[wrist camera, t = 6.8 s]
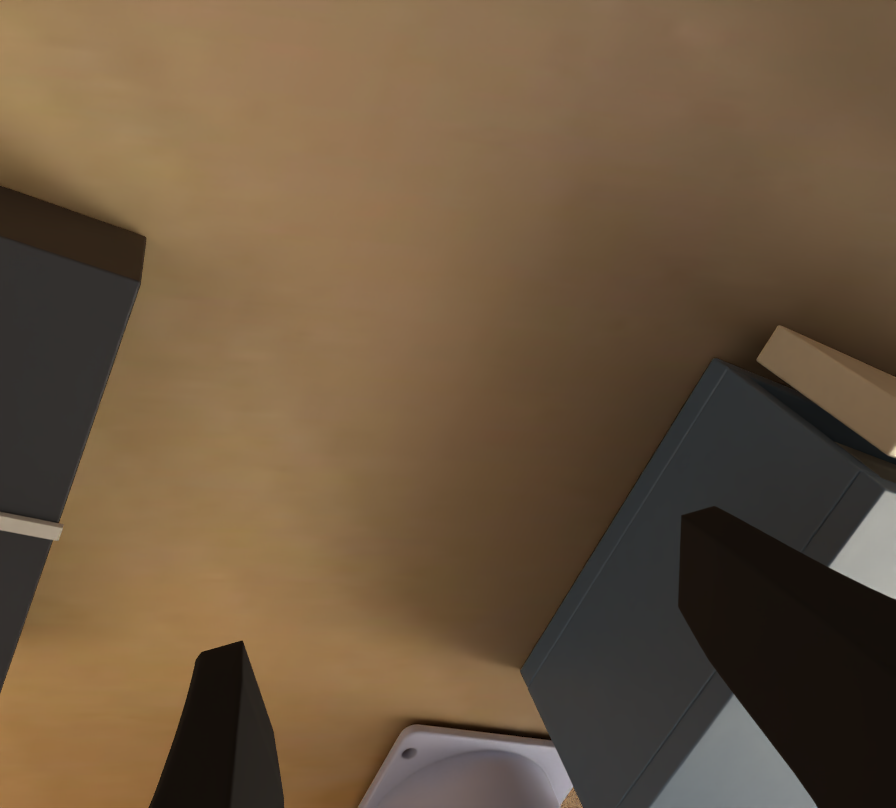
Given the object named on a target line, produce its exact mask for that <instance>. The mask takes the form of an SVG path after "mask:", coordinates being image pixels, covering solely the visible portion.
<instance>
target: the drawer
mask: <svg viewBox="0 0 896 808" xmlns="http://www.w3.org/2000/svg"><path fill="white" fill-rule="evenodd" d="M757 362H758V363H760V364H761V365H762V366H764V367H765V368H767V369H768V370H769V371H771V372H772V373H774V374H775V375H776V376H778V377H779V378H780V379H782V380H783V381H785V382H786V383H787V384H789V385H790V386H792V387H793V388H794V389H796V390H797V391H799V392H800V393H801V394H803V395H804V396H805V397H807V398H808V399H810V400H811V401H812V402H814V403H815V404H817V405H818V406H819V407H821V408H822V409H824V410H825V411H826V412H828V413H829V414H830V415H832V416H833V417H835V418H836V419H837V420H839V421H840V422H842V423H843V424H844V425H846V426H847V427H849V428H850V429H851V430H853V431H854V432H855V433H857V434H858V435H860V436H861V437H862V438H864V439H865V440H867V441H868V442H869V443H871V444H872V445H874V446H875V447H876V448H878V449H879V450H880V451H882V452H883V453H885V454H886V455H888V456H890V457H893V458H896V377H894V376H892V375H890V374H888V373H885V372H883V371H881V370H879V369H876V368H874V367H872V366H870V365H868V364H865V363H863V362H861V361H859V360H856V359H854V358H852V357H850V356H848V355H845V354H843V353H841V352H839V351H837V350H834V349H832V348H830V347H828V346H825V345H823V344H821V343H819V342H817V341H814V340H812V339H810V338H808V337H806V336H803V335H801V334H799V333H797V332H794V331H792V330H790V329H788V328H786V327H783V326H781V325H778V326H777V328H776V329H775V331H774V332H773V334H772V336H771V337H770V339H769V340H768V342H767V343H766V345H765V347H764V348H763V350H762V351H761V353H760V354H759V356H758V358H757ZM835 443H837V442H835ZM837 444H838V445H839V446H841V447H842V448H843V449H845V450H846V451H847V452H849V453H850V454H851V455H853V456H854V457H855V458H857V459H858V460H859V461H860V462H862V463H863V464H864V465H866V466H867V467H868V468H870V469H871V470H872V471H874V472H875V473H876V474H878V475H879V476H880V478H883V479H886V480H888V481H891V482H894V483H896V465H895V464H892V463H889V462H887V461H884V460H882V459H879V458H876V457H874V456H871V455H868V454H866V453H863V452H861V451H858V450H855V449H853V448H850V447H847V446H845V445H842V444H839V443H837Z"/></svg>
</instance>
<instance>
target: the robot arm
mask: <svg viewBox="0 0 896 808" xmlns="http://www.w3.org/2000/svg"><path fill="white" fill-rule="evenodd" d="M678 608H679V609H680V611H681V613H682V615H683V617H684V618H685V620H686V622H687V624H688V626H689V627H690V629H691V631H692V633H693V635H694V636H695V638H696V640H697V641H698V643H699V645H700V647H701V648H702V650H703V652H704V653H705V655H706V657H707V658H708V660H709V661H710V663H711V664H712V665H713V667H714V668H715V670H716V671H717V672H718V674H719V675H720V676H721V678H722V679H723V680H724V682H725V683H726V684H727V686H728V687H729V688H730V690H731V691H732V692H733V694H734V695H735V696H736V698H737V699H738V700H739V702H740V703H741V704H742V706H743V707H744V708H745V710H746V711H747V712H748V713H749V715H750V716H751V717H752V719H753V720H754V721H755V723H756V724H757V725H758V727H759V728H760V729H761V731H762V732H763V733H764V734H765V736H766V737H767V738H768V740H769V741H770V742H771V744H772V745H773V746H774V748H775V749H776V750H777V752H778V753H779V754H780V755H781V757H782V758H783V759H784V761H785V762H786V763H787V765H788V766H789V767H790V769H791V770H792V771H793V773H794V774H795V775H796V777H797V778H798V780H799V781H800V782H801V784H802V785H803V787H804V788H805V790H806V791H807V792H808V794H809V795H810V797H811V798H812V800H813V801H814V803H815V804H816V806H817V808H896V600H895V599H893V598H891V597H888V596H886V595H884V594H882V593H880V592H878V591H876V590H873V589H871V588H869V587H867V586H865V585H863V584H861V583H859V582H857V581H855V580H853V579H851V578H849V577H847V576H845V575H843V574H841V573H839V572H837V571H835V570H833V569H831V568H829V567H827V566H825V565H823V564H821V563H820V562H818V561H816V560H814V559H812V558H810V557H808V556H806V555H804V554H803V553H801V552H799V551H797V550H795V549H793V548H792V547H790V546H788V545H786V544H784V543H782V542H781V541H779V540H777V539H775V538H773V537H772V536H770V535H768V534H766V533H764V532H762V531H761V530H759V529H757V528H755V527H753V526H752V525H750V524H748V523H746V522H744V521H743V520H741V519H739V518H737V517H735V516H733V515H732V514H730V513H728V512H726V511H724V510H722V509H720V508H718V507H716V506H712V507H708V508H705V509H701V510H698V511H694V512H691V513H687V514H684V515H681V535H680V564H679V592H678ZM572 787H573V785H572V783H571V780H570V778H569V776H568V774H567V772H566V770H565V768H564V765H563V763H562V761H561V759H560V757H559V755H558V752H557V750H556V748H555V746H554V744H553V742H552V740H544V739H535V738H527V737H519V736H511V735H502V734H494V733H486V732H478V731H469V730H461V729H453V728H444V727H436V726H428V725H420V724H413V725H410V726H408V727H406V728H405V729H403V731H402V732H401V733H400V734H399V736H398V738H397V740H396V741H395V743H394V745H393V747H392V748H391V750H390V752H389V754H388V755H387V757H386V759H385V761H384V762H383V764H382V766H381V768H380V769H379V771H378V773H377V775H376V776H375V778H374V780H373V782H372V783H371V785H370V787H369V788H368V790H367V792H366V794H365V795H364V797H363V799H362V801H361V802H360V804H359V806H358V808H561V806H560V805H561V803H562V802H563V801H564V799H565V798H566V796H567V795H568V793H569V792H570V790H571V789H572ZM149 808H284V795H283V789H282V782H281V776H280V769H279V763H278V756H277V750H276V744H275V738H274V732H273V728H272V725H271V722H270V719H269V716H268V714H267V711H266V708H265V705H264V702H263V699H262V696H261V693H260V690H259V687H258V684H257V681H256V678H255V675H254V672H253V669H252V667H251V664H250V661H249V658H248V655H247V652H246V649H245V646H244V643H243V640H242V641H239V642H235V643H232V644H228V645H225V646H221V647H218V648H214V649H211V650H207V651H204V652H201V654H200V655H199V656H198V658H197V659H196V661H195V666H194V671H193V675H192V679H191V683H190V687H189V691H188V694H187V698H186V702H185V705H184V708H183V712H182V715H181V718H180V721H179V725H178V728H177V731H176V734H175V737H174V740H173V743H172V746H171V749H170V752H169V754H168V757H167V760H166V763H165V766H164V769H163V771H162V774H161V777H160V780H159V783H158V785H157V788H156V791H155V793H154V796H153V798H152V801H151V803H150V805H149Z"/></svg>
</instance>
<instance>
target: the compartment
mask: <svg viewBox="0 0 896 808" xmlns="http://www.w3.org/2000/svg"><path fill="white" fill-rule="evenodd" d="M835 442H837V443H839V444H842V445H845V446H847V447H850V448H853V449H855V450H858V451H861V452H863V453H866V454H868V455H871V456H874V457H876V458H879V459H882V460H884V461H887V462H889V463H892V464H895V465H896V458H893V457H890V456H888V455H886V454H885V453H883V452H882V451H880V450H879V449H878V448H876V447H875V446H874V445H872V444H871V443H869V442H868V441H867V440H865V439H864V438H862V437H861V436H860V435H858V434H857V433H855V432H854V431H853V430H851V429H850V428H849V427H847V426H846V425H844V424H843V423H842V422H840V421H839V420H837V419H836V418H835V417H833V416H832V415H830V414H829V413H828V412H826V411H825V410H824V409H822V408H821V407H819V406H818V405H817V404H815V403H814V402H812V401H811V400H810V399H808V398H807V397H805V396H804V395H803V394H801V393H800V392H799V391H796V390H794V389H791V388H789V387H786V386H784V385H781V384H779V383H776V382H774V381H772V380H769V379H767V378H764V377H762V376H759V375H757V374H754V373H752V372H749V371H747V370H745V369H742V368H740V367H737V366H735V365H732V364H730V363H727V362H725V361H722V360H720V359H718V358H714V359H712V361H711V363H710V364H709V366H708V368H707V369H706V371H705V372H704V374H703V376H702V377H701V379H700V381H699V382H698V384H697V385H696V387H695V389H694V390H693V392H692V393H691V395H690V397H689V398H688V400H687V402H686V403H685V405H684V406H683V408H682V410H681V411H680V413H679V414H678V416H677V418H676V419H675V421H674V423H673V424H672V426H671V427H670V429H669V431H668V432H667V434H666V436H665V437H664V439H663V440H662V442H661V444H660V445H659V447H658V448H657V450H656V452H655V453H654V455H653V457H652V458H651V460H650V461H649V463H648V465H647V466H646V468H645V469H644V471H643V473H642V474H641V476H640V478H639V479H638V481H637V482H636V484H635V486H634V487H633V489H632V491H631V492H630V494H629V495H628V497H627V499H626V500H625V502H624V503H623V505H622V507H621V508H620V510H619V512H618V513H617V515H616V516H615V518H614V520H613V521H612V523H611V525H610V526H609V528H608V529H607V531H606V533H605V534H604V536H603V537H602V539H601V541H600V542H599V544H598V546H597V547H596V549H595V550H594V552H593V554H592V555H591V557H590V558H589V560H588V562H587V563H586V565H585V567H584V568H583V570H582V571H581V573H580V575H579V576H578V578H577V580H576V581H575V583H574V584H573V586H572V588H571V589H570V591H569V592H568V594H567V596H566V597H565V599H564V601H563V602H562V604H561V605H560V607H559V609H558V610H557V612H556V613H555V615H554V617H553V618H552V620H551V622H550V623H549V625H548V626H547V628H546V630H545V631H544V633H543V635H542V636H541V638H540V639H539V641H538V643H537V644H536V646H535V647H534V649H533V651H532V652H531V654H530V656H529V657H528V659H527V660H526V662H525V664H524V665H523V667H522V668H521V671H520V672H521V674H522V677H523V679H524V681H525V683H526V685H527V687H528V690H529V692H530V695H531V697H532V699H533V701H534V703H535V705H536V707H537V710H538V712H539V714H540V716H541V718H542V720H543V722H544V725H545V727H546V729H547V731H548V733H549V735H550V737H551V740H552V742H553V744H554V746H555V748H556V750H557V752H558V755H559V757H560V759H561V761H562V763H563V765H564V768H565V770H566V772H567V774H568V776H569V778H570V780H571V783H572V785H573V787H574V789H575V791H576V793H577V795H578V798H579V800H580V802H581V804H582V806H583V808H817V806H816V804H815V803H814V801H813V800H812V798H811V797H810V795H809V794H808V792H807V791H806V790H805V788H804V787H803V785H802V784H801V782H800V781H799V780H798V778H797V777H796V775H795V774H794V773H793V771H792V770H791V769H790V767H789V766H788V765H787V763H786V762H785V761H784V759H783V758H782V757H781V755H780V754H779V753H778V752H777V750H776V749H775V748H774V746H773V745H772V744H771V742H770V741H769V740H768V738H767V737H766V736H765V734H764V733H763V732H762V731H761V729H760V728H759V727H758V725H757V724H756V723H755V721H754V720H753V719H752V717H751V716H750V715H749V713H748V712H747V711H746V710H745V708H744V707H743V706H742V704H741V703H740V702H739V700H738V699H737V698H736V696H735V695H734V694H733V692H732V691H731V690H730V688H729V687H728V686H727V684H726V683H725V682H724V680H723V679H722V678H721V676H720V675H719V674H718V672H717V671H716V670H715V668H714V667H713V665H712V664H711V663H710V661H709V660H708V658H707V657H706V655H705V653H704V652H703V650H702V648H701V647H700V645H699V643H698V641H697V640H696V638H695V636H694V635H693V633H692V631H691V629H690V627H689V626H688V624H687V622H686V620H685V618H684V617H683V615H682V613H681V611H680V609H679V608H678V592H679V564H680V535H681V515H684V514H687V513H691V512H694V511H698V510H701V509H705V508H708V507H712V506H716V507H718V508H720V509H722V510H724V511H726V512H728V513H730V514H732V515H733V516H735V517H737V518H739V519H741V520H743V521H744V522H746V523H748V524H750V525H752V526H753V527H755V528H757V529H759V530H761V531H762V532H764V533H766V534H768V535H770V536H772V537H773V538H775V539H777V540H779V541H781V542H782V543H784V544H786V545H788V546H790V547H792V548H793V549H795V550H797V551H799V552H801V553H803V554H804V555H806V556H808V557H810V558H812V559H814V560H816V561H818V562H820V563H821V564H823V565H825V566H827V567H829V568H831V569H833V570H835V571H837V572H839V573H841V574H843V575H845V576H847V577H849V578H851V579H853V580H855V581H857V582H859V583H861V584H863V585H865V586H867V587H869V588H871V589H873V590H876V591H878V592H880V593H882V594H884V595H886V596H888V597H891V598H893V599H895V600H896V483H894V482H891V481H888V480H886V479H883V478H880V476H879V475H878V474H876V473H875V472H874V471H872V470H871V469H870V468H868V467H867V466H866V465H864V464H863V463H862V462H860V461H859V460H858V459H857V458H855V457H854V456H853V455H851V454H850V453H849V452H847V451H846V450H845V449H843V448H842V447H841V446H839V445H838V444H837V443H835Z"/></svg>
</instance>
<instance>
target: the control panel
mask: <svg viewBox="0 0 896 808" xmlns="http://www.w3.org/2000/svg"><path fill="white" fill-rule="evenodd" d="M145 246H146V237H145V236H142V235H139V234H136V233H134V232H131V231H128V230H125V229H122V228H119V227H116V226H114V225H111V224H108V223H105V222H102V221H99V220H96V219H94V218H91V217H88V216H85V215H82V214H79V213H77V212H74V211H71V210H68V209H65V208H62V207H59V206H57V205H54V204H51V203H48V202H45V201H42V200H40V199H37V198H34V197H31V196H28V195H25V194H22V193H20V192H17V191H14V190H11V189H8V188H5V187H2V186H0V693H1V690H2V687H3V684H4V681H5V678H6V675H7V672H8V670H9V667H10V664H11V661H12V658H13V655H14V652H15V649H16V646H17V643H18V640H19V637H20V635H21V632H22V629H23V626H24V623H25V620H26V617H27V614H28V611H29V608H30V605H31V602H32V600H33V597H34V594H35V591H36V588H37V585H38V582H39V579H40V576H41V573H42V570H43V567H44V565H45V562H46V559H47V556H48V553H49V550H50V547H51V544H52V541H53V540H55V541H59V538H60V535H61V532H62V529H63V524H60V523H59V521H60V518H61V515H62V512H63V509H64V506H65V503H66V500H67V498H68V495H69V492H70V489H71V486H72V483H73V480H74V477H75V474H76V471H77V468H78V465H79V463H80V460H81V457H82V454H83V451H84V448H85V445H86V442H87V439H88V436H89V433H90V430H91V428H92V425H93V422H94V419H95V416H96V413H97V410H98V407H99V404H100V401H101V398H102V395H103V393H104V390H105V387H106V384H107V381H108V378H109V375H110V372H111V369H112V366H113V363H114V360H115V358H116V355H117V352H118V349H119V346H120V343H121V340H122V337H123V334H124V331H125V328H126V325H127V323H128V320H129V317H130V314H131V311H132V308H133V305H134V302H135V299H136V296H137V293H138V290H139V288H140V285H141V278H142V270H143V262H144V254H145Z"/></svg>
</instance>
